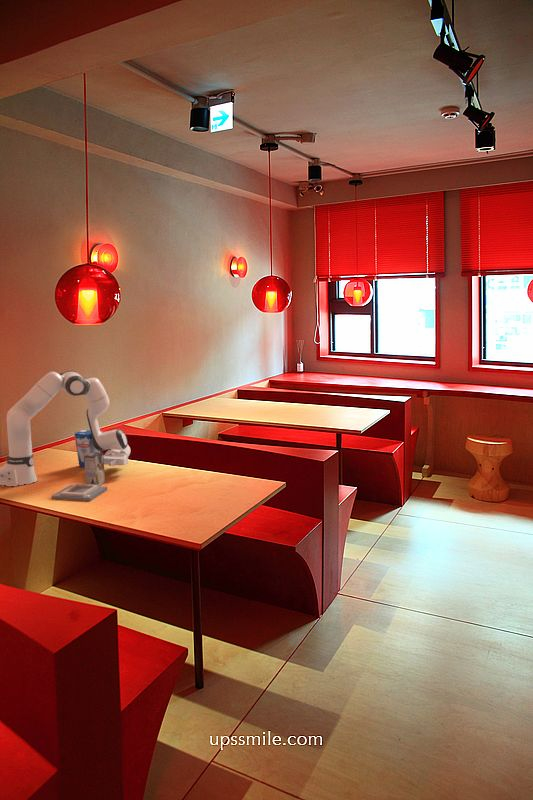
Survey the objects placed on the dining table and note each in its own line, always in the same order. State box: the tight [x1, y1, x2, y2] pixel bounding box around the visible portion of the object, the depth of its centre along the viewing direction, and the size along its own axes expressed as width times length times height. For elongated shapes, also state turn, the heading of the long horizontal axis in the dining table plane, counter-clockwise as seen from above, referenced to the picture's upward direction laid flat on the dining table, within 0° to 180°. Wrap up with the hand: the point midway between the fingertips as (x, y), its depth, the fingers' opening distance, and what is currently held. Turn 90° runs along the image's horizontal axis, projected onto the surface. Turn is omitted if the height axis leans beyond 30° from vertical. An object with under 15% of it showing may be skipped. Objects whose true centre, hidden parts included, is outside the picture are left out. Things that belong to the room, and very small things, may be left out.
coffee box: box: [84, 451, 106, 486], centre depth 313 cm, size 9×6×16 cm
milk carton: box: [74, 429, 100, 468], centre depth 348 cm, size 10×6×20 cm, turn 71°
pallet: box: [51, 483, 108, 502], centre depth 299 cm, size 20×18×3 cm
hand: (101, 463), depth 321 cm, fingers open, 8 cm apart
